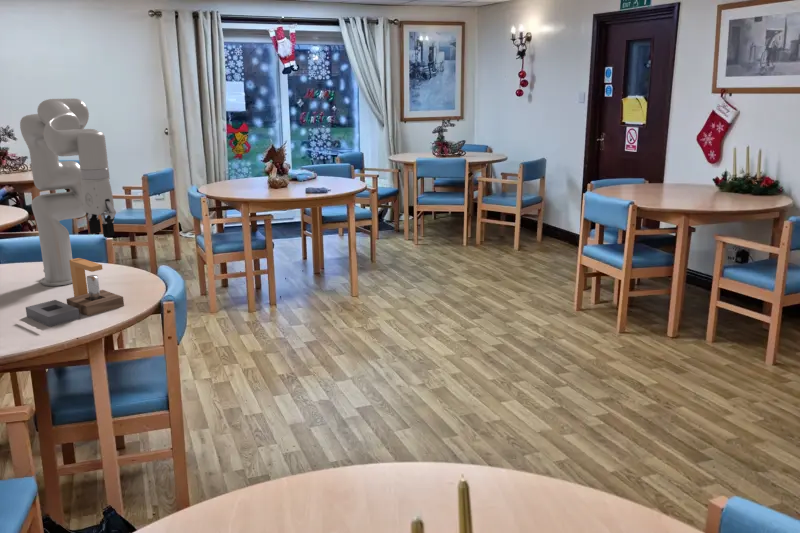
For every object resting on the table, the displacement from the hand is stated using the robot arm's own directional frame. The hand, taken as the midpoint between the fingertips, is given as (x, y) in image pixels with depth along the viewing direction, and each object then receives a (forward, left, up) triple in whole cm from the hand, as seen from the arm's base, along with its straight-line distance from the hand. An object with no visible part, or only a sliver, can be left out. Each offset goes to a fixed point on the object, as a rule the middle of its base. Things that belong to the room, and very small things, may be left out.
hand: (102, 234), depth 202 cm
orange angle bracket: (-12, 0, -25) cm, 28 cm away
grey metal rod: (-9, 0, -25) cm, 26 cm away
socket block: (-9, 0, -26) cm, 27 cm away
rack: (-10, -13, -26) cm, 30 cm away
